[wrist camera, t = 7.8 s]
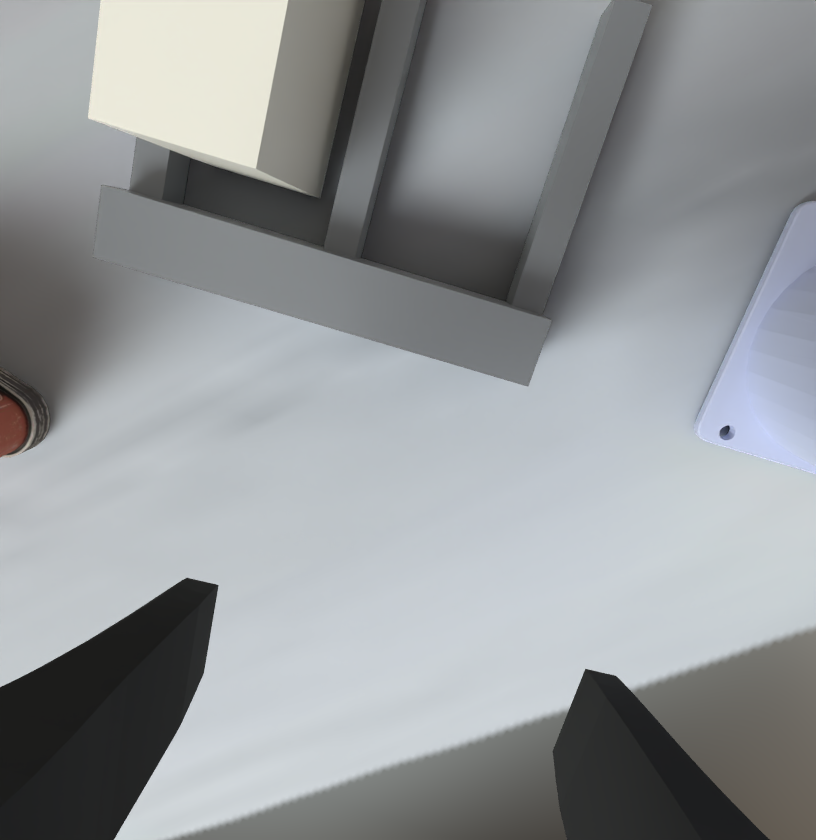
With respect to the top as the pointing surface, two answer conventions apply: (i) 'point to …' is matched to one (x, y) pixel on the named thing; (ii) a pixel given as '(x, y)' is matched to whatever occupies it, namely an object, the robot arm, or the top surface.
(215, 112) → the cream rectangular block
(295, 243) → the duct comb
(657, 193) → the top surface
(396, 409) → the top surface
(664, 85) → the top surface
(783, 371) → the robot arm
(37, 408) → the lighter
